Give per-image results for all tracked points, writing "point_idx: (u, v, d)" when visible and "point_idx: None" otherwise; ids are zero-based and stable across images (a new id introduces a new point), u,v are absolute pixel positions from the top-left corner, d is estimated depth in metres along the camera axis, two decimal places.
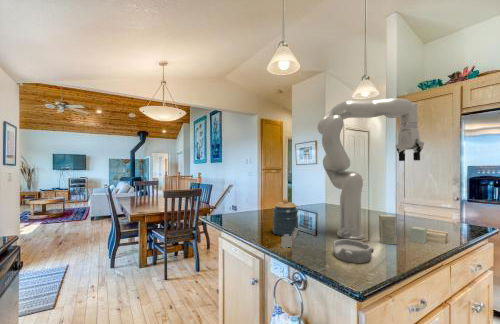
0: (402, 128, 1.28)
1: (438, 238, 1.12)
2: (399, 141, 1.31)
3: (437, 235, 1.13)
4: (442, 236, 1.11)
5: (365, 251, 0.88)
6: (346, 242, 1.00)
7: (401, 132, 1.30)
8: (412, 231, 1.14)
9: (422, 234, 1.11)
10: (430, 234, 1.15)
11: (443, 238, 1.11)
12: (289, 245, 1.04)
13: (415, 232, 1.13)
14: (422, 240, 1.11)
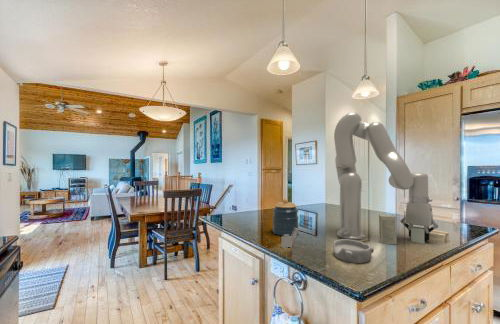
0: None
1: (437, 238, 1.13)
2: None
3: (436, 235, 1.13)
4: (441, 236, 1.12)
5: (365, 251, 0.88)
6: (346, 242, 1.00)
7: None
8: (412, 231, 1.14)
9: (422, 234, 1.11)
10: (429, 234, 1.15)
11: (442, 238, 1.11)
12: (289, 245, 1.04)
13: (416, 232, 1.13)
14: (422, 240, 1.11)
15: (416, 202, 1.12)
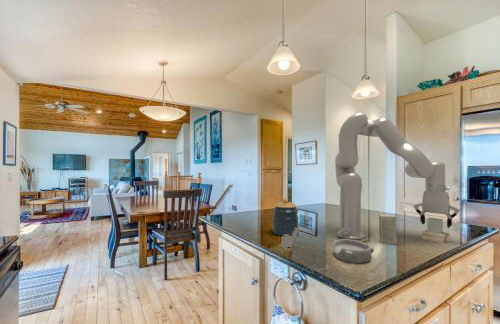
0: None
1: (436, 238, 1.13)
2: None
3: (435, 235, 1.13)
4: (440, 236, 1.12)
5: (365, 251, 0.88)
6: (346, 242, 1.00)
7: None
8: (428, 222, 1.16)
9: (439, 225, 1.14)
10: (428, 234, 1.15)
11: (440, 238, 1.11)
12: (289, 245, 1.04)
13: (432, 223, 1.15)
14: (439, 231, 1.14)
15: (433, 190, 1.14)
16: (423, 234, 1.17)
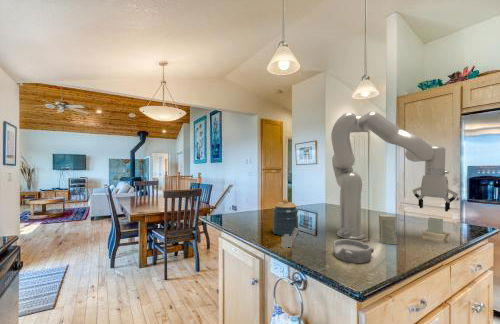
0: None
1: (436, 238, 1.13)
2: None
3: (435, 235, 1.13)
4: (440, 236, 1.12)
5: (365, 251, 0.88)
6: (346, 242, 1.00)
7: None
8: (429, 222, 1.17)
9: (440, 224, 1.14)
10: (429, 234, 1.15)
11: (441, 238, 1.11)
12: (289, 245, 1.04)
13: (433, 223, 1.16)
14: (440, 230, 1.14)
15: (433, 174, 1.14)
16: (423, 234, 1.17)
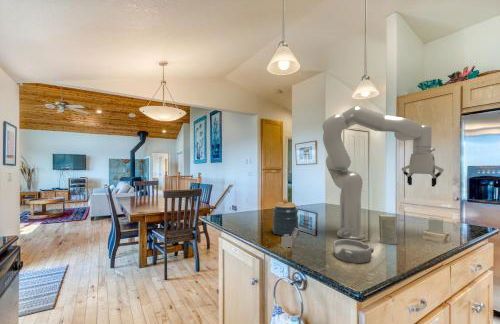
0: None
1: (437, 239, 1.13)
2: None
3: (435, 235, 1.13)
4: (440, 236, 1.11)
5: (365, 251, 0.88)
6: (346, 242, 1.00)
7: None
8: (430, 222, 1.16)
9: (440, 225, 1.13)
10: (429, 234, 1.15)
11: (441, 238, 1.11)
12: (289, 245, 1.04)
13: (433, 223, 1.15)
14: (440, 231, 1.13)
15: (419, 151, 1.20)
16: (424, 234, 1.17)
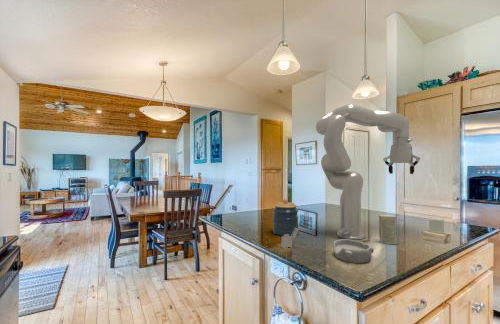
0: None
1: (437, 239, 1.12)
2: None
3: (436, 235, 1.13)
4: (440, 236, 1.11)
5: (365, 251, 0.88)
6: (346, 242, 1.00)
7: None
8: (431, 222, 1.16)
9: (441, 225, 1.13)
10: (429, 234, 1.15)
11: (441, 238, 1.11)
12: (289, 245, 1.04)
13: (434, 223, 1.15)
14: (441, 231, 1.13)
15: (398, 142, 1.31)
16: (424, 234, 1.17)
